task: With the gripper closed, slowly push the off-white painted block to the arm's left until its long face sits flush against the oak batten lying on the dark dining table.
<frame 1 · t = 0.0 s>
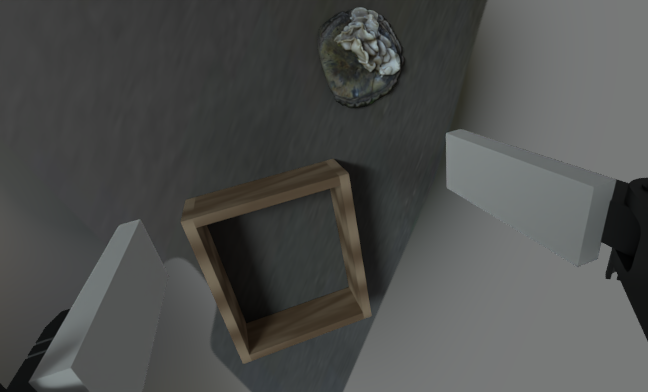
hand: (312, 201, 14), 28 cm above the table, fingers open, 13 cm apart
wooden serving tray: (283, 251, 48), on the table
crumpled grey lump: (357, 60, 41), on the table
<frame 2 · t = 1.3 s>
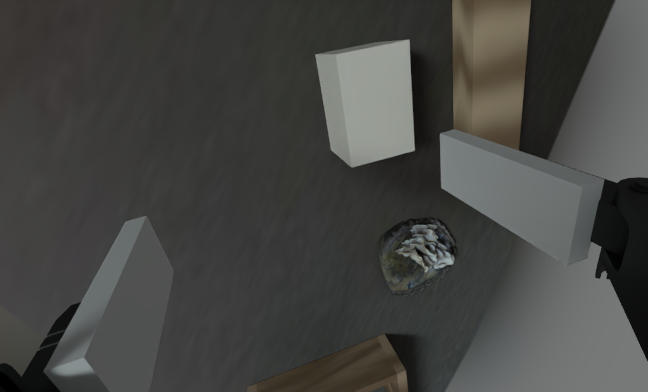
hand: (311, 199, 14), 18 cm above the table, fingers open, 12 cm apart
block: (352, 98, 32), on the table
batten: (478, 67, 34), on the table
crumpled grey lump: (412, 253, 42), on the table
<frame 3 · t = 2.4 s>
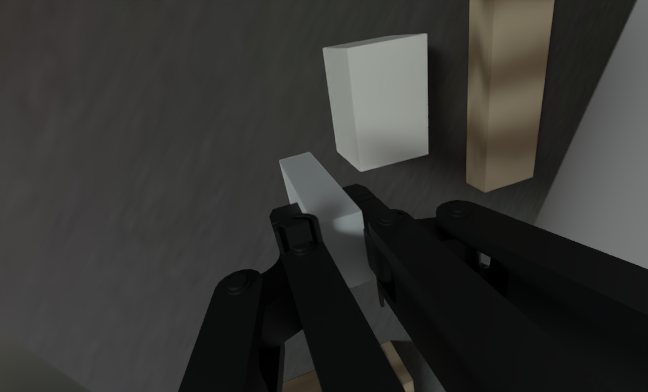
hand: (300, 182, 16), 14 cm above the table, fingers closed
block: (361, 96, 30), on the table
batten: (495, 63, 32), on the table
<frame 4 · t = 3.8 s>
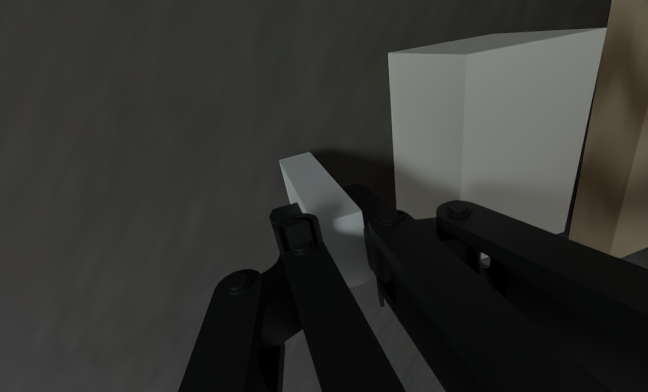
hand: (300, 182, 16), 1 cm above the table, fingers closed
block: (439, 128, 19), on the table
batten: (633, 75, 21), on the table
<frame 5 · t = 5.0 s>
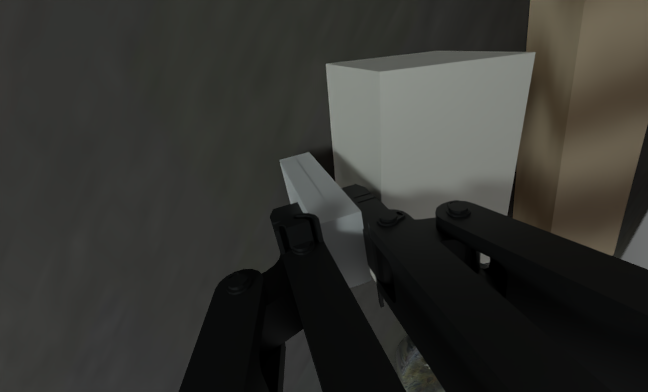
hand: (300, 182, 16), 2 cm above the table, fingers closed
block: (384, 144, 18), on the table, touching gripper
batten: (563, 88, 20), on the table
crumpled grey lump: (444, 353, 29), on the table
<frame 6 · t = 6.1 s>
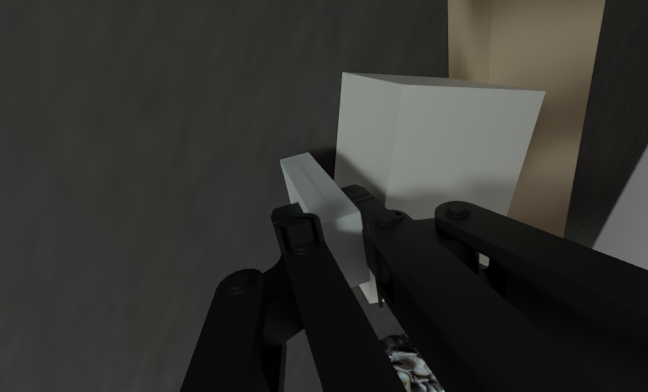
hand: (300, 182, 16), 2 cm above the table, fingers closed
block: (386, 160, 19), on the table, touching batten, gripper
batten: (494, 109, 19), on the table
crumpled grey lump: (391, 375, 28), on the table
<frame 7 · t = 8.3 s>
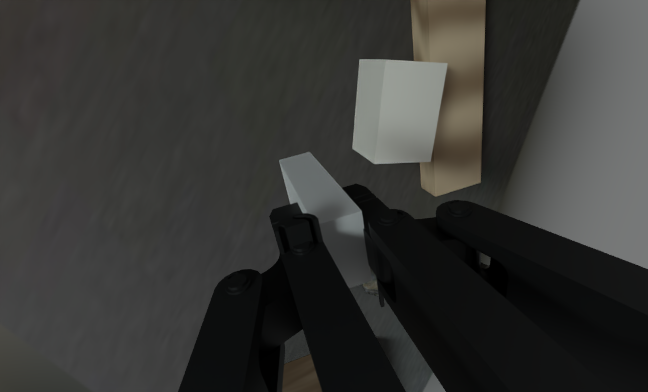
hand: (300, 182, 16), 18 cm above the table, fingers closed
block: (381, 106, 35), on the table
batten: (440, 80, 36), on the table
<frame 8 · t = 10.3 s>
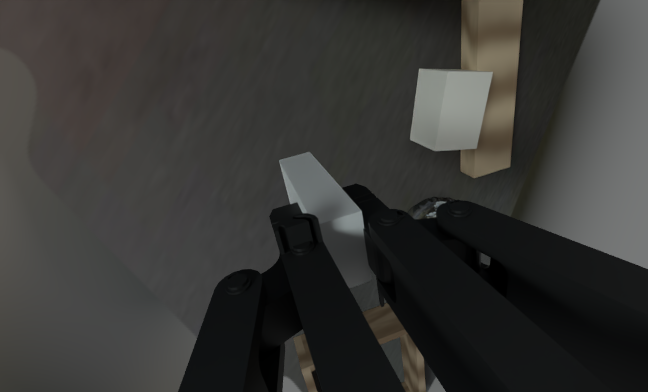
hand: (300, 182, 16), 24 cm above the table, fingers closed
block: (433, 105, 44), on the table
wooden serving tray: (358, 363, 60), on the table
batten: (480, 84, 44), on the table
crumpled grey lump: (430, 226, 53), on the table
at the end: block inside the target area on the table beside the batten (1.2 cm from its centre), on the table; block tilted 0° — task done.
